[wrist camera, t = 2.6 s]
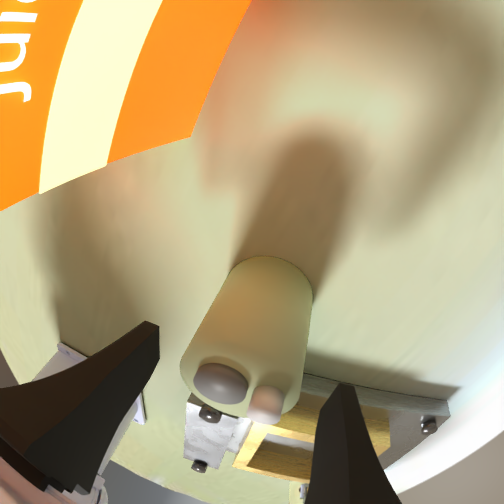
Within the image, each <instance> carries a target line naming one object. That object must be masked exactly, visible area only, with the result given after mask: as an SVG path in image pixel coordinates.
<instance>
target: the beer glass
mask: <svg viewBox="0 0 504 504" xmlns="http://www.w3.org/2000/svg"><path fill="white" fill-rule="evenodd" d="M308 488H309V484H308V483H302V482H296V481H290V483H289V504H304V503H305V499H306V495H307V492H308Z"/></svg>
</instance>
